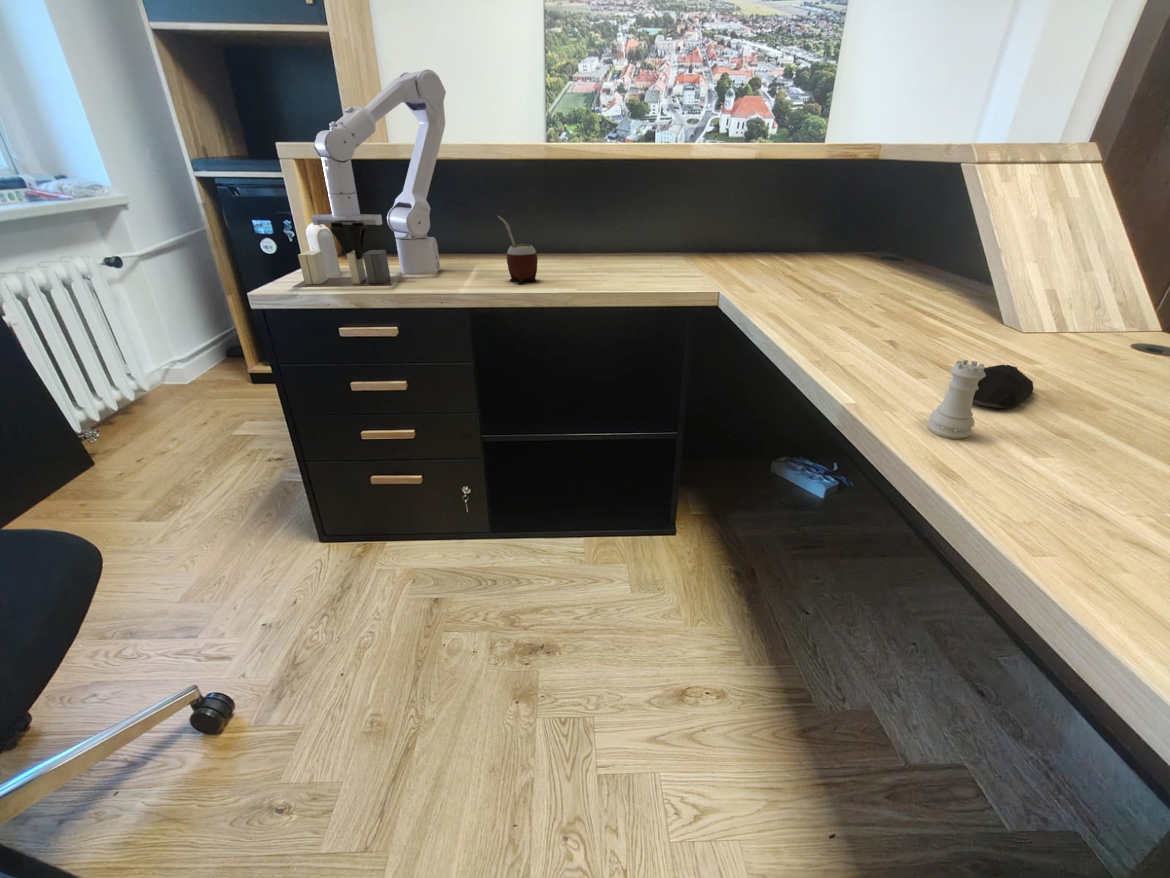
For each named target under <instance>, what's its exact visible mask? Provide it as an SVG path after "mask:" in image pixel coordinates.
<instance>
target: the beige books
mask: <svg viewBox="0 0 1170 878" xmlns="http://www.w3.org/2000/svg"><path fill="white" fill-rule="evenodd" d="M297 257H298V261H299V265H300V270H301V274H302V278H303V281H304V282H305V284H321V283H323V282H324V281H326V280H328V277H327V272H326V268H325V263H324V259H323V254H322V251H310V250H306V251H304V252H302V253H299V254H297Z"/></svg>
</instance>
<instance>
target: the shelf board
mask: <svg viewBox="0 0 1170 878" xmlns="http://www.w3.org/2000/svg"><path fill="white" fill-rule="evenodd" d="M402 277H403V276H402V275H390V279H389V280H388V281H387V282H385V283H368V278H367V276H366V278H367V279H365V280H364V281H363V282H361V283H359V284H353V281H352V277H351V276H329V277H328V280H326V281H324V282H323V283H321V284H305V282H304V280H302V281H300V282H299V283H297V284H295V285H293V286H292V288H339V287H343V288H344V287H345V288H346V287H392V286H393V285H394V284H395V283H396V282H398V281H399V280H400V279H401V278H402Z"/></svg>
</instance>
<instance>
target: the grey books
mask: <svg viewBox="0 0 1170 878" xmlns="http://www.w3.org/2000/svg"><path fill="white" fill-rule="evenodd" d="M362 258H363V263H364V269H365V273H366V277H367V278H368V283H385V282H387V281H388V280H389V279H390V276H391V273H390V267H389V260H388V255H387V250H386V249H370V250H368V251H366V252H364V253H362Z"/></svg>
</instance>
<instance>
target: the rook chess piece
mask: <svg viewBox="0 0 1170 878" xmlns="http://www.w3.org/2000/svg"><path fill="white" fill-rule="evenodd" d="M984 368H985V364H984V363H981V362H980V363H979V364H978V361H975V360H972V361H971V364H969V360H968V359H961V360H957V361H956V363H955V365H954V366H953V367H951V368H950V372H951V373H950V374H951V375H952V378H951V380H950V381H949V382H948V389H947V391H946V394H945V396H944V398H943V400H942V402H941V403H940V405H938V406H937V407H936V409H934V410H933V411H931V413H930V414H929V420H927V421H926V425H927V428H928V429H929V431H930V432H931V433H933V434H934V435H937V436H939V437H943V438H946V439H951V440H961V439H965V438H967V437H969V436H971V435H972V434H973V429H972V428H973V427H974V426H975V419H974V417H973V416H974V414H973V412H972V407H973V403H972V402H973V397H974V394H975V391H976V390H978V389H979V388H978V382H979V381H980V380H981V379H982V378H984V377H985V376H986V374H985V372H984ZM932 421H933V422H934V423H935V424H934V423H933V422H932ZM942 427H943V428H942ZM955 430H956V431H955Z"/></svg>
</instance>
